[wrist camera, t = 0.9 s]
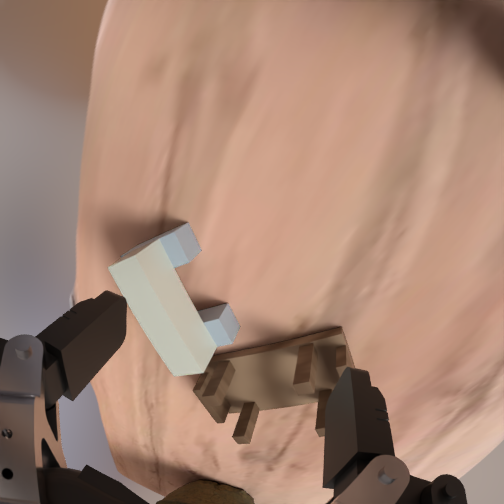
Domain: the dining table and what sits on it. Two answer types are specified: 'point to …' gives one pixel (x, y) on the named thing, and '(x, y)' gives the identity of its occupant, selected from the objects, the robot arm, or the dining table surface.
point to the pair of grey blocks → (182, 252)
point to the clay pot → (207, 494)
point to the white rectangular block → (164, 309)
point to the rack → (274, 379)
